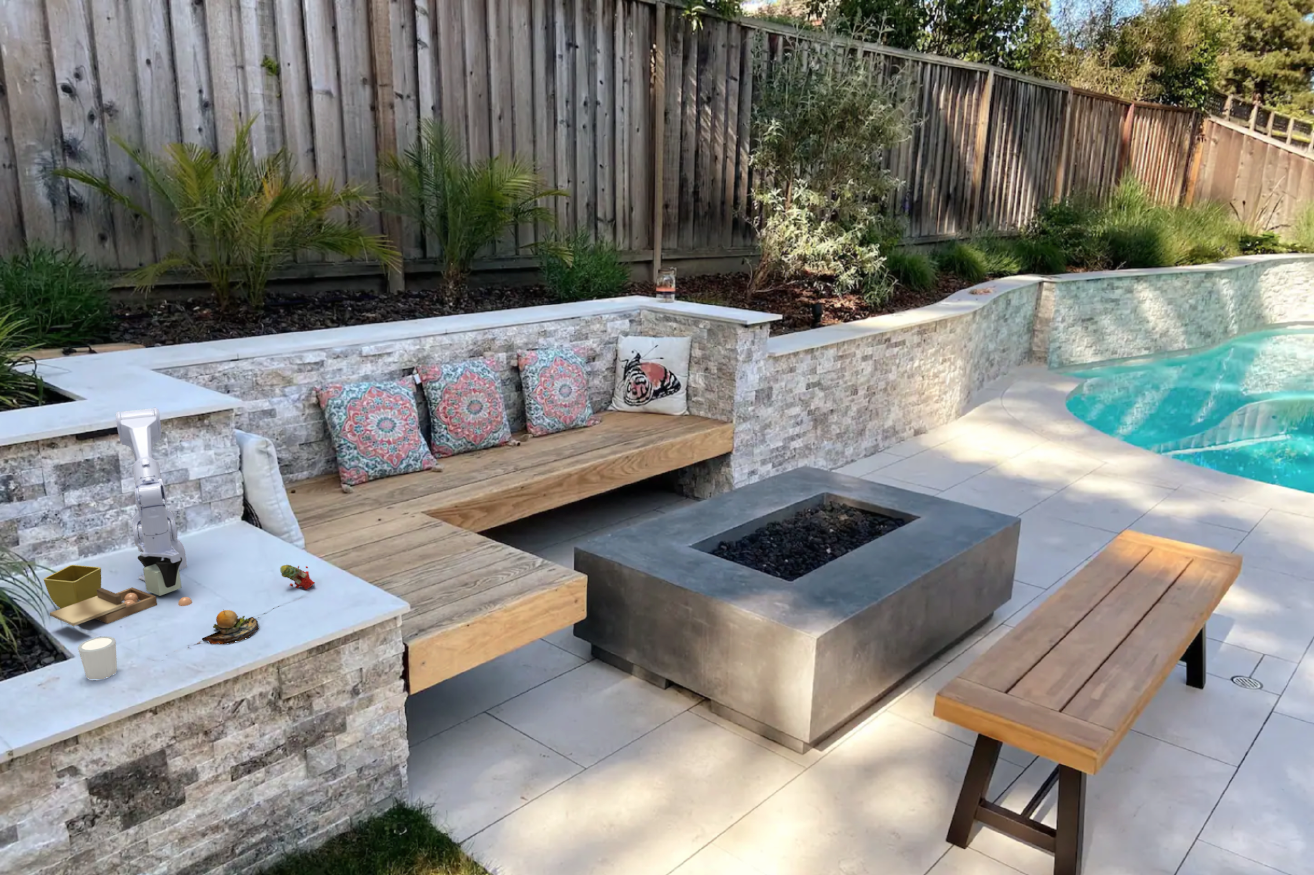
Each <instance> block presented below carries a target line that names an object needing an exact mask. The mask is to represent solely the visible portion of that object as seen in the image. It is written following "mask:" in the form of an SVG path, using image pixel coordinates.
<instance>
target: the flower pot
mask: <svg viewBox="0 0 1314 875" xmlns="http://www.w3.org/2000/svg"><path fill="white" fill-rule="evenodd" d="M42 580H43V583H44V584H45V587H46V590H47V593H48V595H49V598H50V599H51V601H52V602H53V603H54V604H55V605H56V606H57V607H58V608H59V609H62V608H65V607H67V606H70V605H73V604H76V603H79V602H81V601H84V600H87V599H90V598H93V597H95V596H97V589H100V588H102V567H99V566H88V565H78V564H77V565H76V564H69V565H68V566H66V567H64V568H62V569H61V570H59V571H56V572H55V573H52V574H50V575H47V577H44V578H42Z"/></svg>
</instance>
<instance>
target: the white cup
mask: <svg viewBox="0 0 1314 875" xmlns="http://www.w3.org/2000/svg"><path fill="white" fill-rule="evenodd" d="M116 642H117V641H116V638H114V637H112V636H98V637H93V638H90V639H88V640H84V641H83V642H82V643H80V644H78V647H77V650H78V653H79V654H78V655H79V657H80V659H81V664H82V667H83V670H84V673H85V677H86V679H87V678H89V679H103V680H105V679H104V678H106V677H109V678H111V677H112V676H111V675H113V674H114V675H115V673H116V674H117V672H118V664H117V662H118V661H117V660H118V659H117V644H116ZM116 671H117V672H116ZM114 675H113V676H114ZM110 676H111V677H110ZM89 679H88V680H89ZM106 679H107V678H106Z"/></svg>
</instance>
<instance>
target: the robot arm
mask: <svg viewBox="0 0 1314 875" xmlns="http://www.w3.org/2000/svg"><path fill="white" fill-rule="evenodd" d="M115 421H116V428H117V433H118V437H119V441H120V442H121V445H123V446H126V447H129V448H130V449H131V452H132V453H133V457H134V463H133V464H132V472H133V480H134V486H135V488H134V490H133V492H134V497H135V504H136V508H137V511H138V512H136V514H135V515H133V517H132V519H131V522H132V533H133V540H134V546H136V547H137V549H138V552H140V555H138V556H137V560H138V561H139V562H140V563H141V564H142V566H143V568H145V567H148V566H151V565H154V564H156V565H157V566H158V568H159V569H160V571H161V573H162V576H163V580H164V583H165V586H166V587H167V588H169V587H172V586H174V585H175V584H176V578H177V572H178V568H179V571H180V570H181V571H182V570H184V569H187V568H188V563H187V562H188V561H187V557H186V549H185V547H184V544H183V542H182V541H181V540H179V539H178V530H177V524H176V520H175V516H174V513H173V511H171V510H170V509H168V508H166V506H167V503H168V501H167V493H166V492H167V491H166V486H165V484H164V481H163V479H162V475H161V470H160V464H159V461H158V460H157V459H154V456H153V449H154V445H155V443H157V442H160V441H161V437H162V424H161V418H160V411H159V409H158V408H157V407H153V408H146V409H145V408H142V409H135V410H127V411H125V410H124V411H119V410H118V411H116V412H115ZM163 500H164V502H163ZM138 579H139V580H141V581H144V582H145V577H144V574H142V575H140V576H138Z"/></svg>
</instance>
